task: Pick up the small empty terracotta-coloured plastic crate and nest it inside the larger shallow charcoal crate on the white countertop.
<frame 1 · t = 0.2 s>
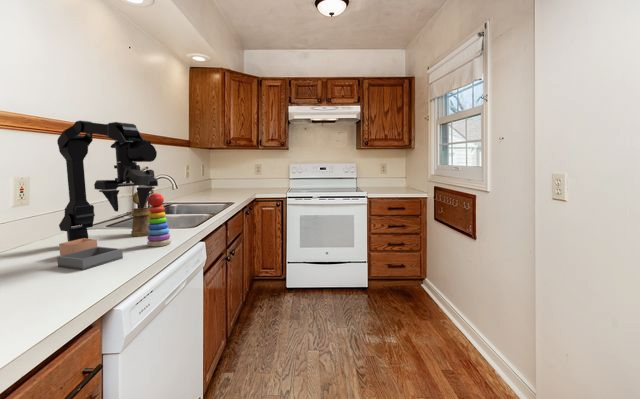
hand: (129, 209, 113), 14 cm above the worktop, tool pointing down, fingers open, 9 cm apart
stacking toy: (159, 245, 124), on the worktop
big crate: (91, 262, 102), on the worktop
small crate: (79, 254, 111), on the worktop
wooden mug: (143, 234, 145), on the worktop
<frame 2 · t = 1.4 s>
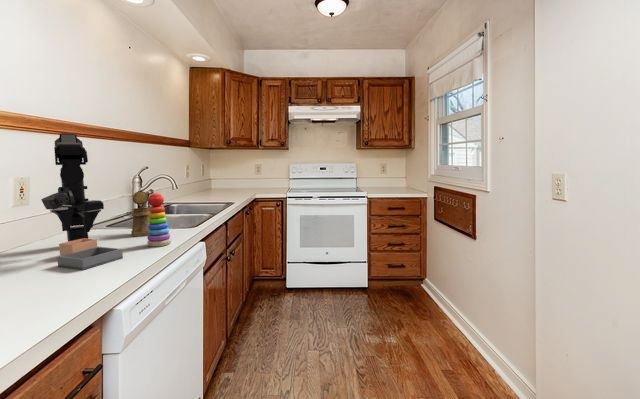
hand: (77, 231, 110), 8 cm above the worktop, tool pointing down, fingers open, 9 cm apart
nothing on the worktop moved.
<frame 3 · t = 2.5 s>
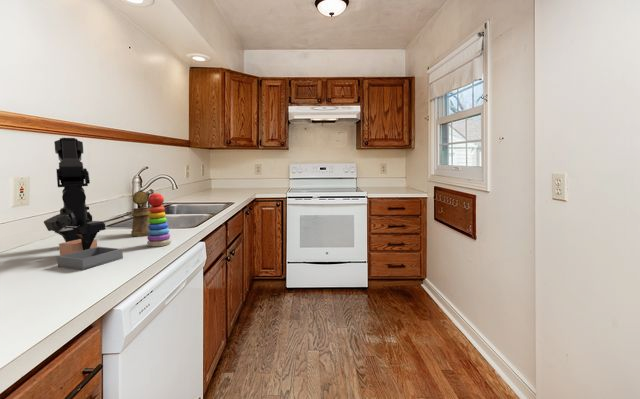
hand: (79, 251, 111), 1 cm above the worktop, tool pointing down, fingers closed on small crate, 6 cm apart
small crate: (79, 255, 111), on the worktop, touching gripper
everything else where it was.
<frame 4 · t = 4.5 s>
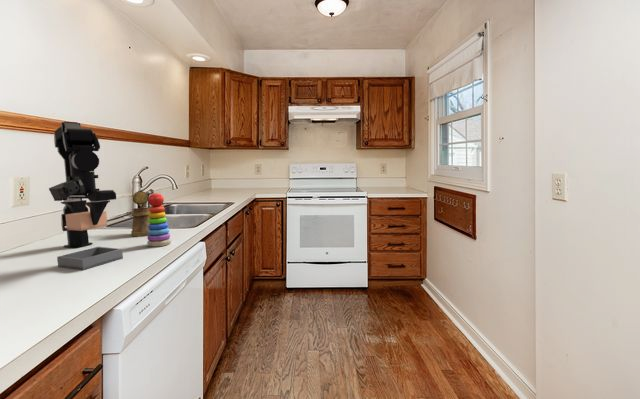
hand: (87, 224, 101), 11 cm above the worktop, tool pointing down, fingers closed on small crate, 6 cm apart
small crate: (87, 227, 101), point 10 cm above the worktop, touching gripper
everything else where it was.
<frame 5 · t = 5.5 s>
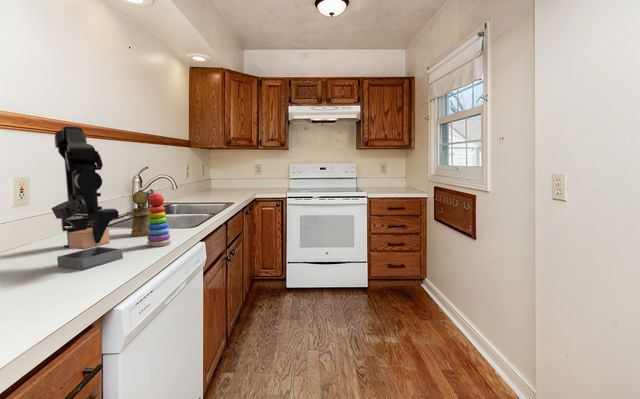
hand: (89, 242, 102), 6 cm above the worktop, tool pointing down, fingers closed on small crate, 6 cm apart
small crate: (90, 245, 102), point 5 cm above the worktop, touching gripper
everything else where it was.
when the fingers open (4 cm above the worktop, at t = 6.4 s): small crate drops 2 cm, resting on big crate.
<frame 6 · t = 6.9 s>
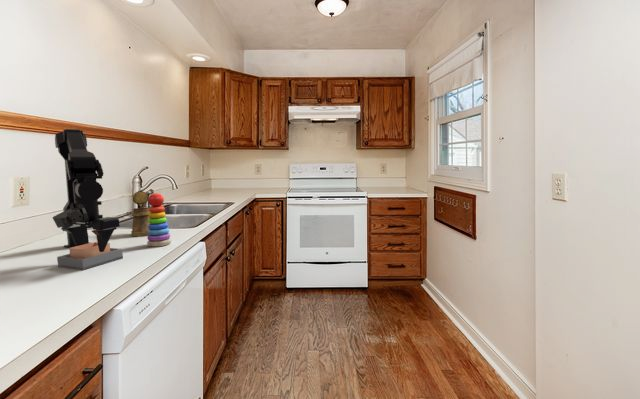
hand: (90, 250, 102), 4 cm above the worktop, tool pointing down, fingers open, 9 cm apart
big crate: (91, 262, 102), on the worktop, touching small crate
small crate: (91, 260, 102), point 1 cm above the worktop, touching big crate
everything else where it was.
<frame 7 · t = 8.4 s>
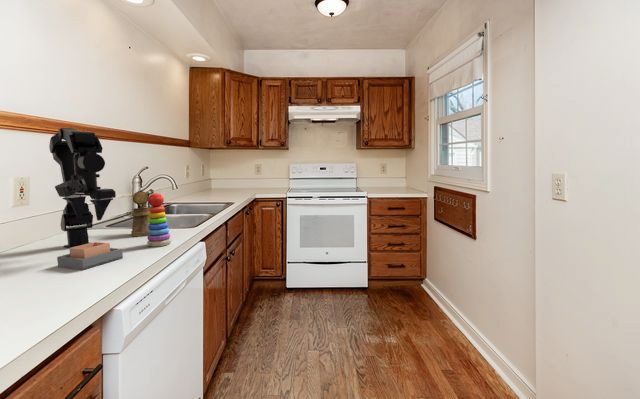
hand: (89, 219, 111), 12 cm above the worktop, tool pointing down, fingers open, 9 cm apart
nothing on the worktop moved.
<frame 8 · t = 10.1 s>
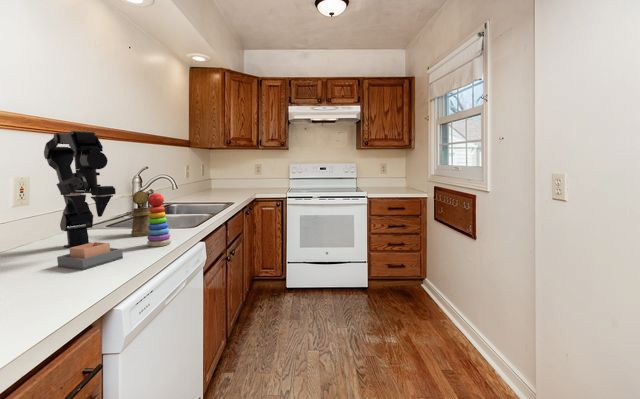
hand: (90, 216, 115), 12 cm above the worktop, tool pointing down, fingers open, 9 cm apart
nothing on the worktop moved.
at the end: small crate 0.1 cm off-centre on the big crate, point 0.7 cm above the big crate's base; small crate tilted 0°; the gripper is holding nothing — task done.
